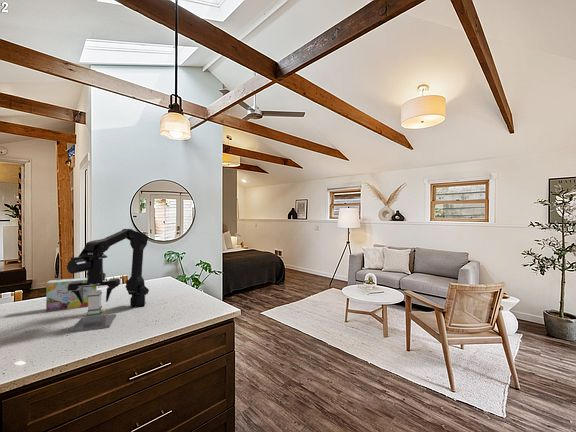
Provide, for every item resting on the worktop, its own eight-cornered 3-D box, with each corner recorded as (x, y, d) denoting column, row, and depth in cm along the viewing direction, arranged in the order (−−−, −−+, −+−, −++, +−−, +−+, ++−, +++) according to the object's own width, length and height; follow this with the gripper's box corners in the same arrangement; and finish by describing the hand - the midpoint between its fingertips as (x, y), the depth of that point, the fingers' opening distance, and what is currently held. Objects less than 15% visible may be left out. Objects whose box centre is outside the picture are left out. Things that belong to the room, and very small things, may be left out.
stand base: (116, 316, 129) (116, 304, 129) (109, 327, 116) (109, 314, 116) (81, 320, 124) (81, 307, 124) (70, 332, 111) (70, 319, 111)
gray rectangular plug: (102, 311, 123) (102, 289, 123) (99, 314, 119) (99, 292, 119) (90, 312, 121) (90, 290, 121) (87, 315, 117) (87, 293, 117)
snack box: (45, 312, 134) (45, 282, 134) (49, 308, 139) (49, 280, 139) (96, 305, 144) (96, 278, 143) (98, 302, 149) (98, 276, 148)
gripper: (122, 264, 131) (122, 295, 131) (76, 267, 124) (76, 299, 124) (117, 268, 121) (117, 302, 121) (67, 271, 113) (67, 307, 114)
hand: (95, 302), depth 120 cm, fingers open, 9 cm apart
